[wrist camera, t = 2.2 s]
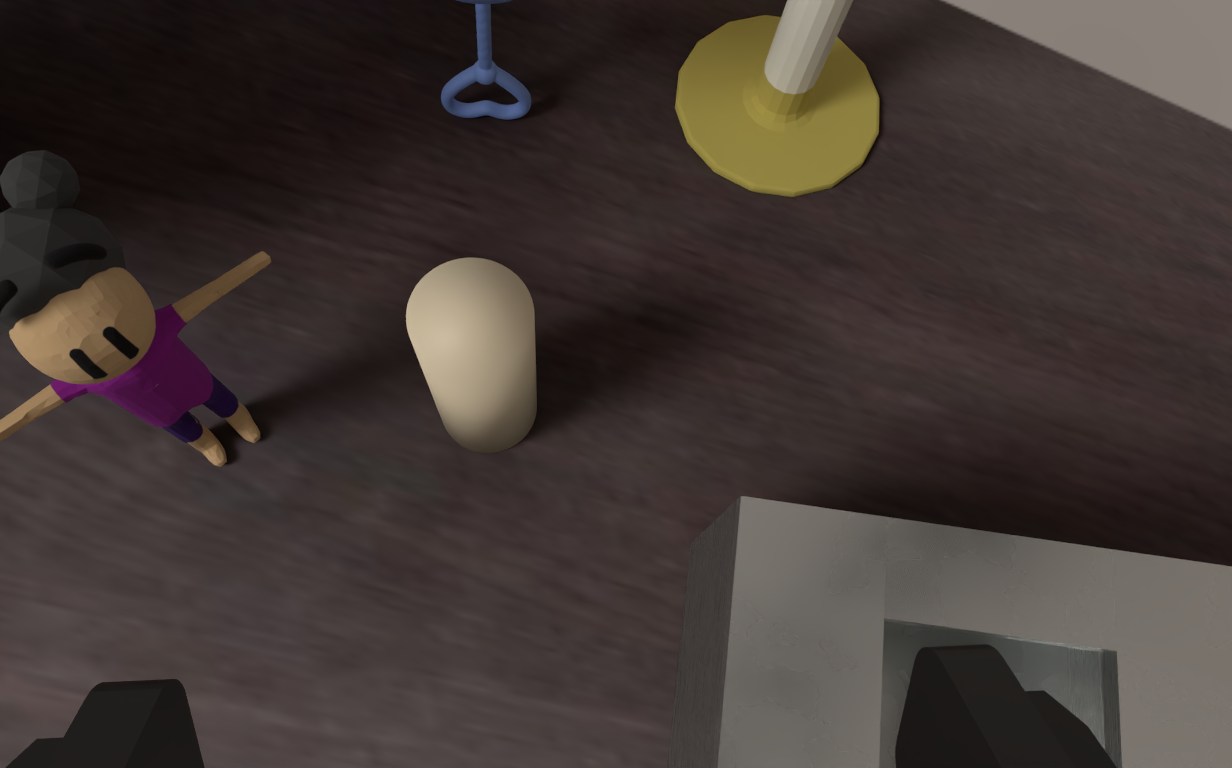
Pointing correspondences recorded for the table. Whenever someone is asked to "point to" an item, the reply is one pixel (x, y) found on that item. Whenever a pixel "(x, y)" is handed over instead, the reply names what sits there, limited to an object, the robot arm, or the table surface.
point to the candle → (779, 100)
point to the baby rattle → (485, 76)
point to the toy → (100, 314)
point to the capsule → (477, 351)
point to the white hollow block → (936, 637)
